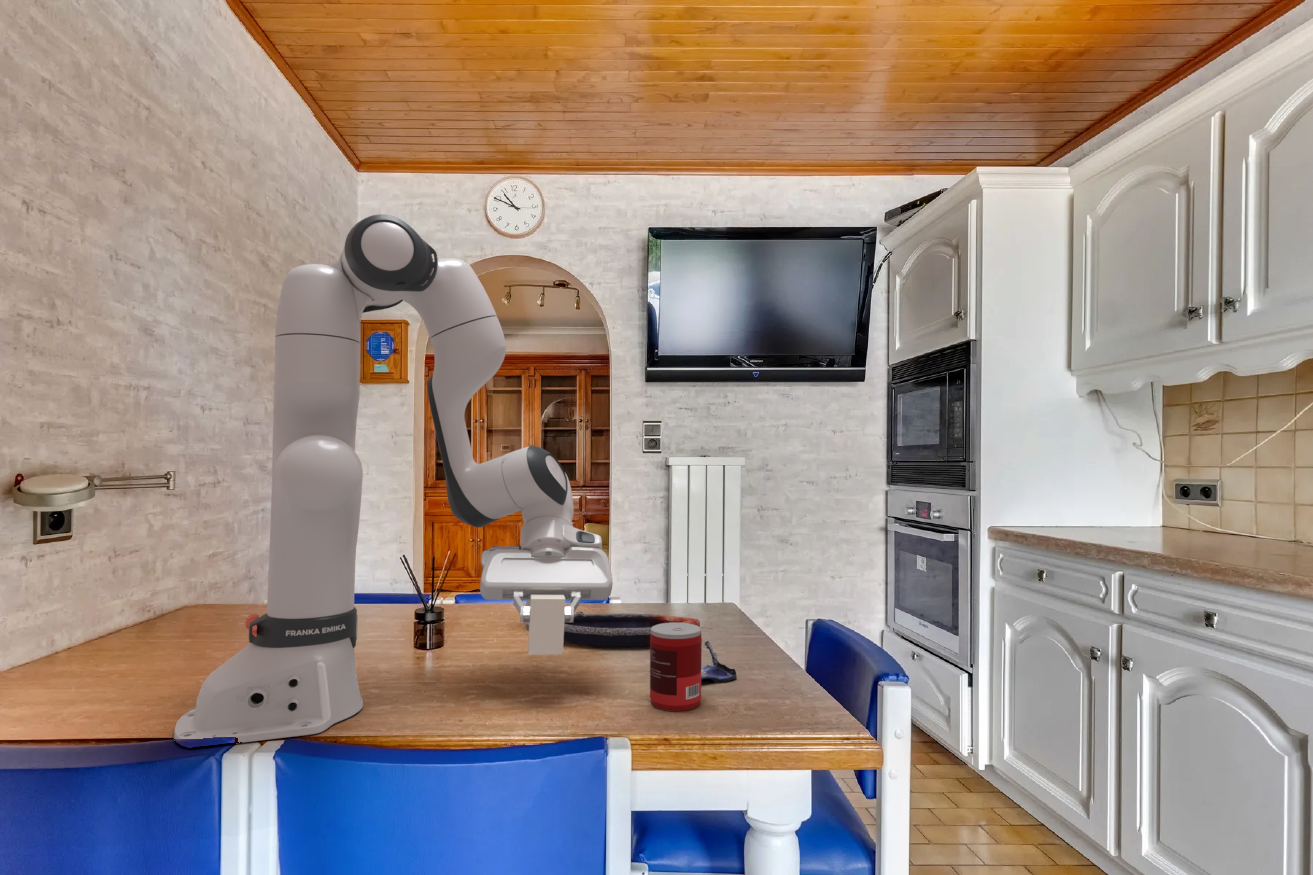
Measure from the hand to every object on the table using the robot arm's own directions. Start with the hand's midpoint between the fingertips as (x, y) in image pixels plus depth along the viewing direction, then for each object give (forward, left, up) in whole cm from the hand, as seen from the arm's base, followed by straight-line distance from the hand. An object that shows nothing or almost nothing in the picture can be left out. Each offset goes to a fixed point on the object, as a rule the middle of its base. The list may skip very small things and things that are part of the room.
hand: (546, 620), depth 100 cm
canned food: (+17, -9, -12) cm, 23 cm away
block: (0, +1, -5) cm, 5 cm away
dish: (+28, +26, -13) cm, 41 cm away
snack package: (+28, 0, -13) cm, 31 cm away
